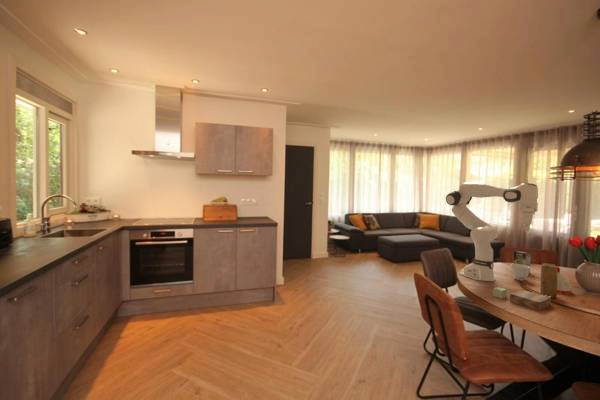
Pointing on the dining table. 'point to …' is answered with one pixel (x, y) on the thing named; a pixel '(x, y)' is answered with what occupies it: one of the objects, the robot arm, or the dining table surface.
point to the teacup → (520, 271)
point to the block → (549, 279)
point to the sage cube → (499, 292)
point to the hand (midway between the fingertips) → (527, 230)
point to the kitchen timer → (562, 283)
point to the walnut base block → (530, 299)
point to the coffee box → (522, 258)
